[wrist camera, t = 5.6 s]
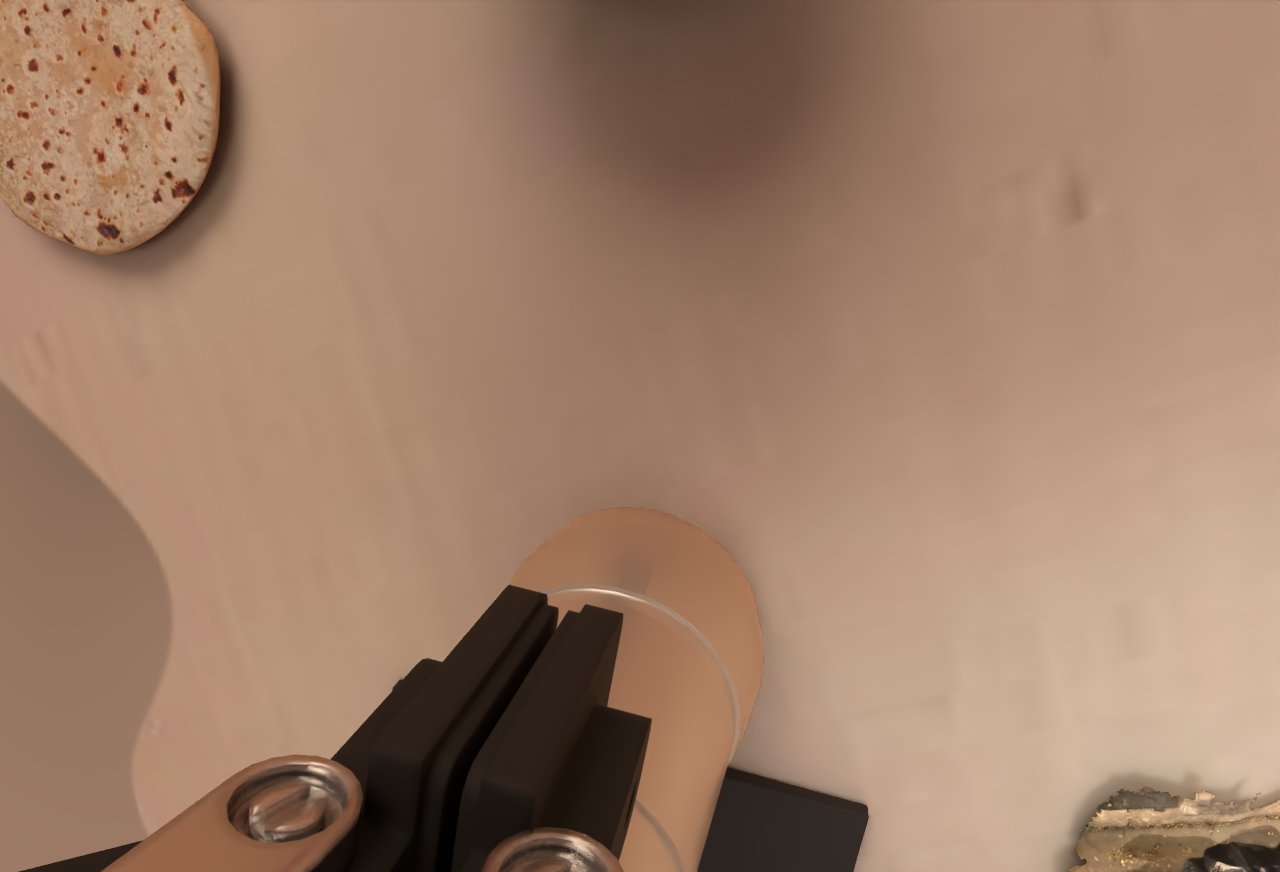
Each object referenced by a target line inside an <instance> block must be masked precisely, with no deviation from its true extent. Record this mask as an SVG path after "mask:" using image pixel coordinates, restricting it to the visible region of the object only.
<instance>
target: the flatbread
mask: <svg viewBox="0 0 1280 872" xmlns="http://www.w3.org/2000/svg"><path fill="white" fill-rule="evenodd" d="M220 86H221V83H220V59H219V53H218V48H217V44H216V42H215V40H214V38H213V35H212V33H211V31H210V30H209V28H208V27H207V26H206V24H205V23H204V22H203V21H202V20H200V19H199V18H198V17H197V16H196V15H195V14H194V13H193V12H192V11H191V10H190V8H189V7H188V6H187V5H186V4H185V3H184V2H183V0H0V197H1V198H2V199H3V201H4V202H5V203H6V204H7V206H8V207H9V208H10V209H11V211H12V212H13V213H14V214H15V216H16V217H18V218H19V219H21V220H22V221H24V222H25V223H26V224H28V225H29V226H31V227H32V228H34V229H36V230H38V231H40V232H42V233H44V234H46V235H48V236H51V237H52V238H55V239H57V240H60V241H62V242H64V243H66V244H69V245H71V246H74V247H77V248H79V249H82V250H84V251H87V252H90V253H94V254H103V255H109V254H114V253H118V252H122V251H126V250H130V249H132V248H134V247H137V246H139V245H141V244H142V243H144V242H146V241H147V240H149V239H150V238H152V237H154V236H155V235H157V234H159V233H160V232H161V231H162V230H164V229H165V228H166V227H167V226H168V225H169V224H170V223H171V222H173V221H174V220H175V219H176V218H177V217H178V216H179V215H180V214H181V212H182V211H183V210H184V209H185V208H186V207H187V206H188V205H189V203H190V202H191V200H192V199H193V197H194V196H195V194H196V193H197V191H198V190H199V188H200V187H201V185H202V183H203V182H204V179H205V177H206V174H207V172H208V169H209V167H210V164H211V161H212V158H213V154H214V151H215V148H216V144H217V137H218V130H219V119H220Z"/></svg>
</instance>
